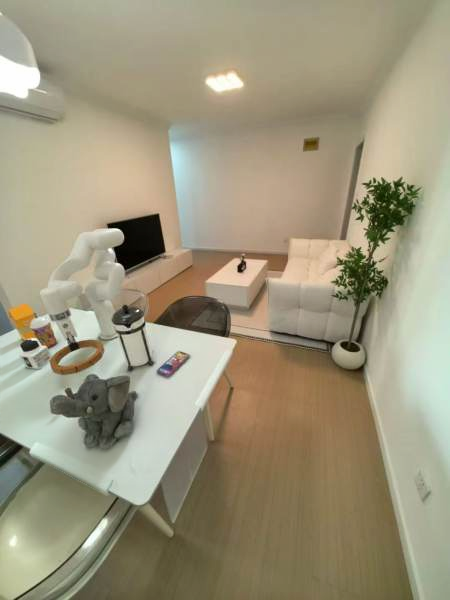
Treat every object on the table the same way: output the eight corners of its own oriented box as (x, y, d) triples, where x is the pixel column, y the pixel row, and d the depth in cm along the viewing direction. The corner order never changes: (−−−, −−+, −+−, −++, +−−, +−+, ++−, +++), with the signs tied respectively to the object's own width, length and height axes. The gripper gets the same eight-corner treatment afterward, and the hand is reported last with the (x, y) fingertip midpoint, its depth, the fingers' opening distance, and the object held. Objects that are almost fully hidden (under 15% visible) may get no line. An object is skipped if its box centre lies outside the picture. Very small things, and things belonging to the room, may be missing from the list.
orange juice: (21, 338, 131) (4, 308, 122) (39, 330, 138) (24, 301, 129) (27, 342, 127) (10, 311, 118) (45, 334, 134) (30, 304, 125)
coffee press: (164, 354, 111) (152, 299, 98) (139, 376, 99) (121, 316, 85) (139, 345, 119) (124, 293, 106) (113, 364, 106) (93, 308, 93)
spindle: (77, 394, 92) (72, 383, 89) (80, 400, 89) (74, 389, 86) (66, 400, 89) (60, 389, 87) (68, 406, 87) (62, 395, 84)
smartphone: (156, 372, 100) (178, 352, 112) (169, 377, 97) (190, 356, 108) (156, 370, 100) (178, 350, 111) (168, 375, 96) (190, 354, 108)
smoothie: (39, 351, 119) (22, 319, 110) (42, 343, 126) (26, 312, 117) (58, 346, 122) (42, 314, 113) (60, 338, 129) (45, 307, 120)
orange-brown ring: (97, 339, 114) (95, 334, 113) (110, 358, 100) (108, 352, 99) (49, 358, 102) (46, 353, 101) (56, 382, 89) (53, 376, 87)
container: (39, 369, 107) (26, 347, 101) (26, 367, 108) (13, 345, 102) (53, 358, 113) (42, 336, 108) (40, 356, 115) (29, 335, 109)
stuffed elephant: (82, 471, 66) (43, 407, 54) (82, 416, 83) (53, 357, 71) (148, 437, 74) (128, 375, 62) (136, 393, 91) (119, 337, 79)
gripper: (73, 317, 96) (87, 352, 104) (66, 306, 107) (79, 338, 115) (52, 324, 92) (69, 360, 100) (47, 311, 102) (62, 344, 110)
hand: (74, 348), depth 107 cm, fingers closed on orange-brown ring, 2 cm apart
